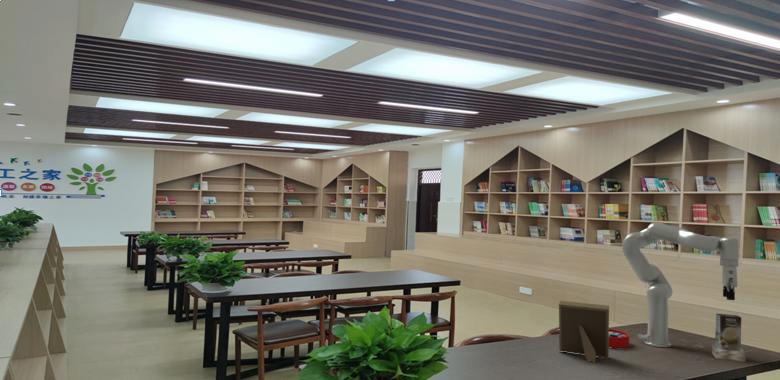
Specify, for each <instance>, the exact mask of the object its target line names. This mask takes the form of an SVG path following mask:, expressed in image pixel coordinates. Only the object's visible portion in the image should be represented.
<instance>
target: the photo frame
mask: <svg viewBox="0 0 780 380" xmlns="http://www.w3.org/2000/svg"><path fill="white" fill-rule="evenodd" d="M609 329H610V305H606V304H595V303H586V302H575V301H566V300H559V303H558V333H559V336H558V338H559V339H558V340H559V341H558V342H559V344H558V345H559V346H558V347H559V348H558V350H560V351H567V352H574V353H580V354H585V356H584V357H585V360H586V359H587V360H590V361H593V362H595V363H596V358H597V357H596V356H598V357H604V358H608V359H609V352H610V351H609V349H610V348H609ZM604 358H603V359H604ZM590 361H589V362H590ZM593 362H592V363H593Z"/></svg>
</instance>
